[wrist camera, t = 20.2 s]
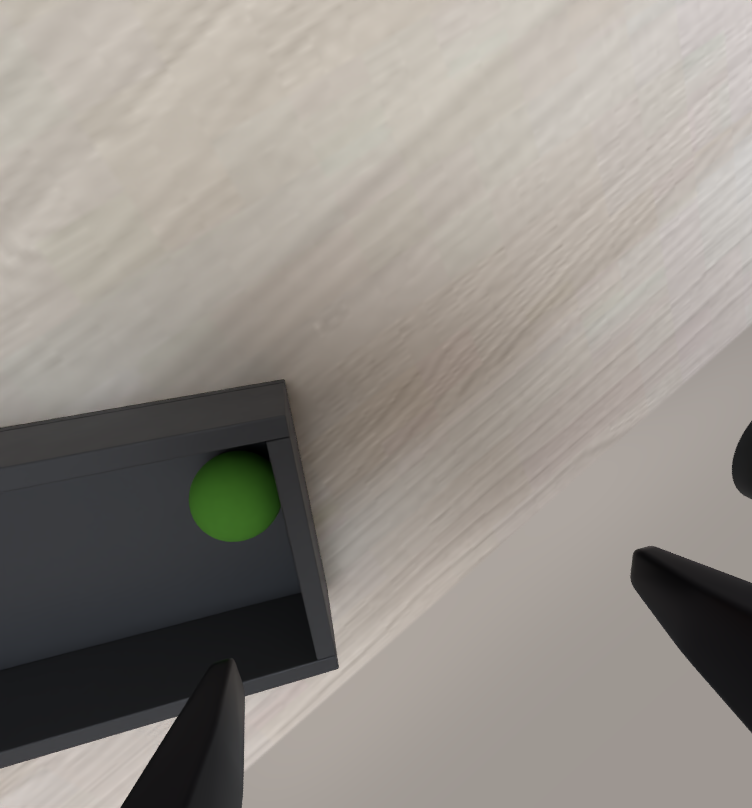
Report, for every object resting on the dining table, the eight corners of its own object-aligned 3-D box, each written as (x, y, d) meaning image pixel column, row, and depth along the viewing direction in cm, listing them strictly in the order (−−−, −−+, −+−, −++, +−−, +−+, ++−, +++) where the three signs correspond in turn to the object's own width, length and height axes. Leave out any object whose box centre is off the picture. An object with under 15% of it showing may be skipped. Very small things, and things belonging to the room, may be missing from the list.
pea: (268, 496, 19) (305, 529, 16) (191, 533, 17) (220, 577, 14) (251, 428, 18) (289, 452, 15) (166, 459, 16) (193, 492, 13)
